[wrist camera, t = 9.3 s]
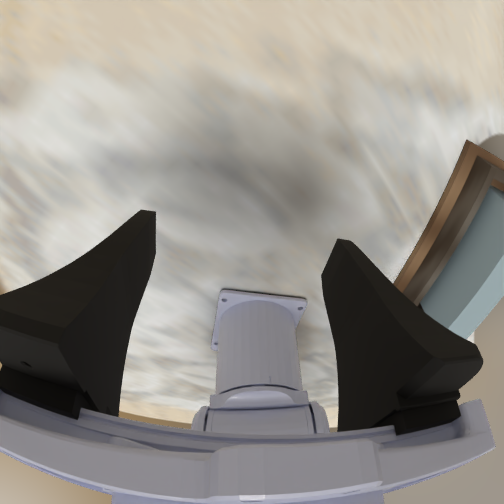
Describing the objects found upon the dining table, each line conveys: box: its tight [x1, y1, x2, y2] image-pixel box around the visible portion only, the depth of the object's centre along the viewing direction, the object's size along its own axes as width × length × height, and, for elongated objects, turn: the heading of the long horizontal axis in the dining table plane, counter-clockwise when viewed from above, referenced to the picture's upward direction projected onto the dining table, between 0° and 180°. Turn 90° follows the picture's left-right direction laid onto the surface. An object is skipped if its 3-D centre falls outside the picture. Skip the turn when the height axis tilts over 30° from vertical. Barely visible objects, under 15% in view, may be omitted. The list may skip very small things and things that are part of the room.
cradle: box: [393, 140, 504, 311], centre depth 23 cm, size 18×10×3 cm, turn 169°
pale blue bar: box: [420, 185, 504, 339], centre depth 21 cm, size 13×4×6 cm, turn 169°
